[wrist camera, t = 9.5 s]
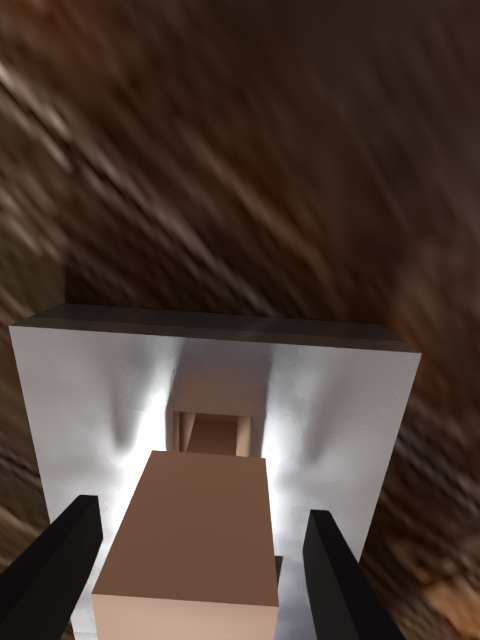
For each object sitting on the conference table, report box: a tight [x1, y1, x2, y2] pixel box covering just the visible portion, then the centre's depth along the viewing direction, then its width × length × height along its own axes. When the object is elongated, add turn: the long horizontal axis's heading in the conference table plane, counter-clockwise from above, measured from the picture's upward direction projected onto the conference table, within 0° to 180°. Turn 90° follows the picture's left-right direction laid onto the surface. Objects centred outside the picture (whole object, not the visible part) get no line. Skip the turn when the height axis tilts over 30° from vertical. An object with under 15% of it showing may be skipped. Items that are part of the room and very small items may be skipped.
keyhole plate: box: [9, 303, 422, 640], centre depth 14 cm, size 20×14×3 cm
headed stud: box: [91, 412, 279, 640], centre depth 10 cm, size 5×5×8 cm
